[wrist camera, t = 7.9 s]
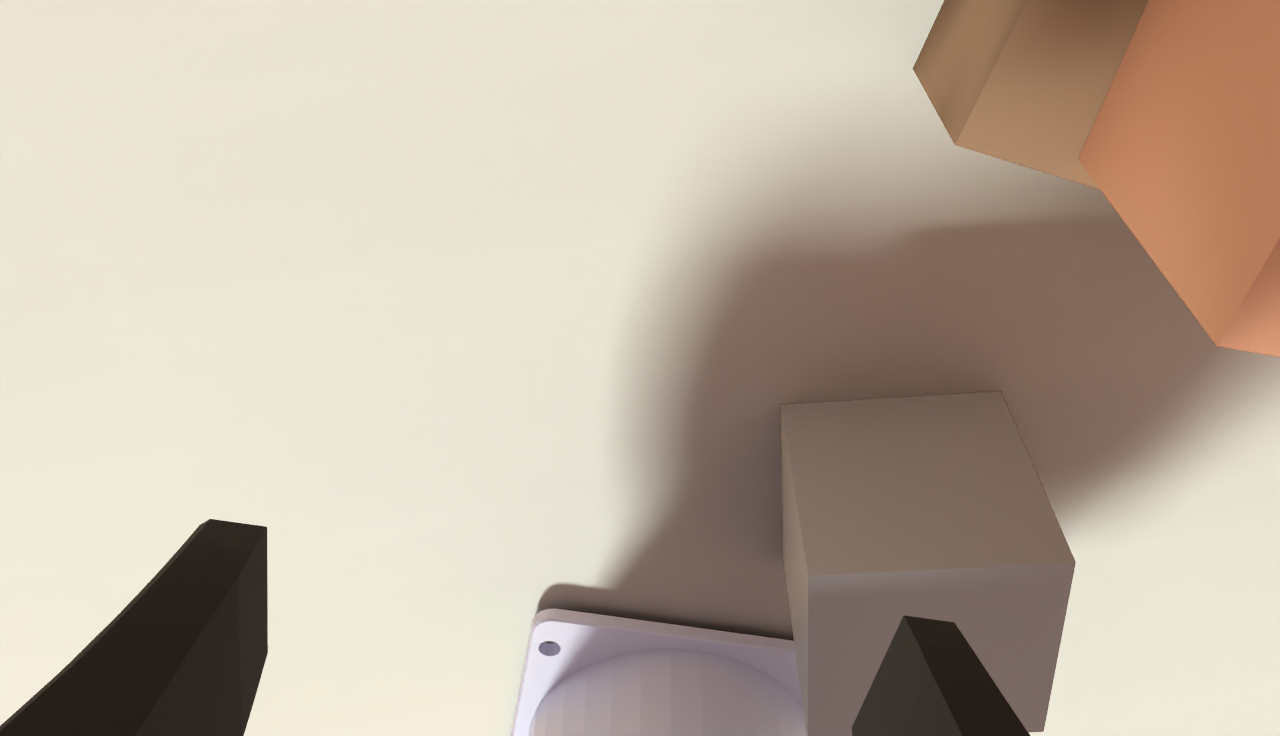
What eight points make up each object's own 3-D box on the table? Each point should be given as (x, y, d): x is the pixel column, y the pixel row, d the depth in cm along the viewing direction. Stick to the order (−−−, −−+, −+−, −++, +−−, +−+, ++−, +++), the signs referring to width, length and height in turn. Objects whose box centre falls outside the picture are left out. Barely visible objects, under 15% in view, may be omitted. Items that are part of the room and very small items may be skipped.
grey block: (980, 548, 26) (1043, 731, 22) (782, 559, 26) (807, 741, 22) (999, 388, 23) (1075, 562, 19) (780, 402, 23) (808, 575, 19)
